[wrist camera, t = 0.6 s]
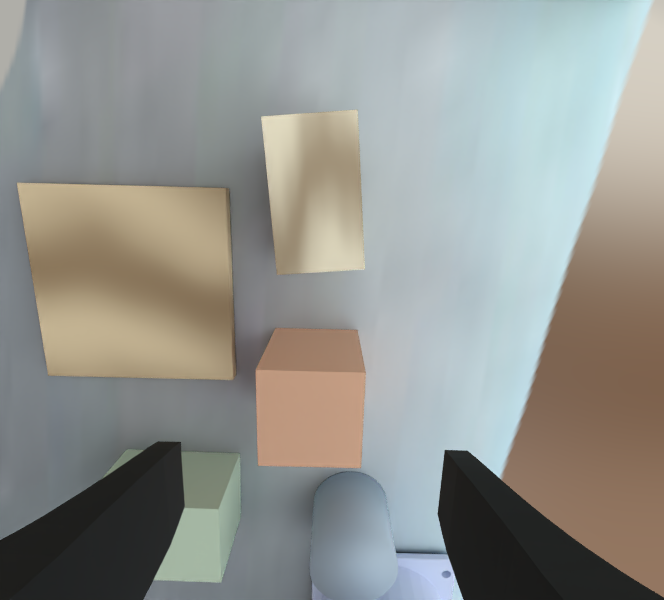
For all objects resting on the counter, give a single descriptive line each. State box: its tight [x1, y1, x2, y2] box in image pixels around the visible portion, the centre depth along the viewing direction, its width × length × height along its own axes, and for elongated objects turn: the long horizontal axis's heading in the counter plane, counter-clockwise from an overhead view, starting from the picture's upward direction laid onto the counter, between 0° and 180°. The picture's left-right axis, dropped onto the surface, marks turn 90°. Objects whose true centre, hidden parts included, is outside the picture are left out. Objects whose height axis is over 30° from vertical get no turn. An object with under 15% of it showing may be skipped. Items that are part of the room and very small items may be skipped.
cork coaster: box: [17, 183, 236, 380], centre depth 18 cm, size 9×9×1 cm
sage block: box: [103, 449, 241, 583], centre depth 19 cm, size 4×6×4 cm, turn 88°
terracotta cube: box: [256, 328, 366, 468], centre depth 17 cm, size 4×4×5 cm
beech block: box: [261, 110, 365, 275], centre depth 15 cm, size 5×5×3 cm
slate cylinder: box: [309, 472, 398, 600], centre depth 19 cm, size 4×4×4 cm
